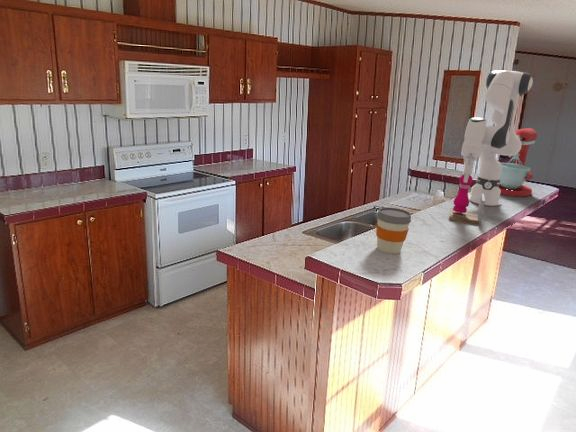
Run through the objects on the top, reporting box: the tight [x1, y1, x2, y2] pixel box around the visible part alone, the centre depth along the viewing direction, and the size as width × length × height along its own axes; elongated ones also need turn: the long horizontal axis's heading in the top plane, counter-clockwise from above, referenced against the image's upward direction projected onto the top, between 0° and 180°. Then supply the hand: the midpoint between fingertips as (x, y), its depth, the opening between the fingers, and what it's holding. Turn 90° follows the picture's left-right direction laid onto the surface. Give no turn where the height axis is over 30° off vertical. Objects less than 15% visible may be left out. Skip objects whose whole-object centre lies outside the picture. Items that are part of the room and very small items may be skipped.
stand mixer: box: [498, 127, 538, 197], centre depth 292 cm, size 24×32×40 cm
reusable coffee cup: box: [375, 207, 412, 255], centre depth 177 cm, size 13×13×15 cm
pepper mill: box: [453, 174, 474, 213], centre depth 226 cm, size 7×7×20 cm
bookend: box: [448, 193, 485, 226], centre depth 227 cm, size 16×14×12 cm
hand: (465, 180), depth 225 cm, fingers closed on pepper mill, 6 cm apart
